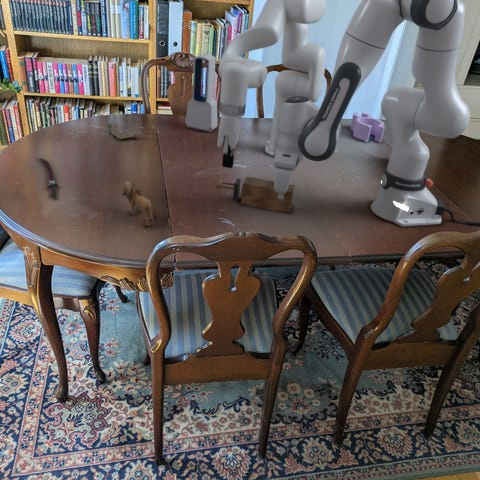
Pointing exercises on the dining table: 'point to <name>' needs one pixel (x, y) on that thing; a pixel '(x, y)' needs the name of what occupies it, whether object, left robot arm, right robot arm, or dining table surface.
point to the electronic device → (200, 107)
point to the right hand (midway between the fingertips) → (282, 193)
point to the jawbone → (122, 135)
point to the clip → (367, 127)
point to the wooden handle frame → (235, 188)
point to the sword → (52, 181)
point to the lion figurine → (137, 201)
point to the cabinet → (265, 195)
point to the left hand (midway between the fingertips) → (227, 166)
